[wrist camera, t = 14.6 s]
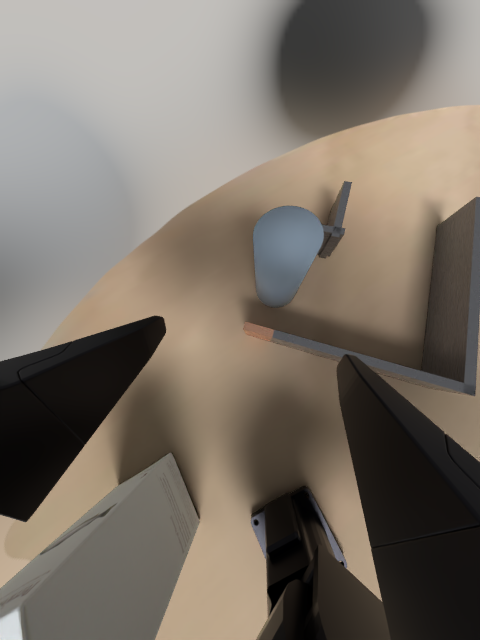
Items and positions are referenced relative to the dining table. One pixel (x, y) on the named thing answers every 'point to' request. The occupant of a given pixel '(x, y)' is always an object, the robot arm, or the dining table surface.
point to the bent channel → (443, 310)
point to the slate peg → (284, 252)
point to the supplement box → (107, 566)
